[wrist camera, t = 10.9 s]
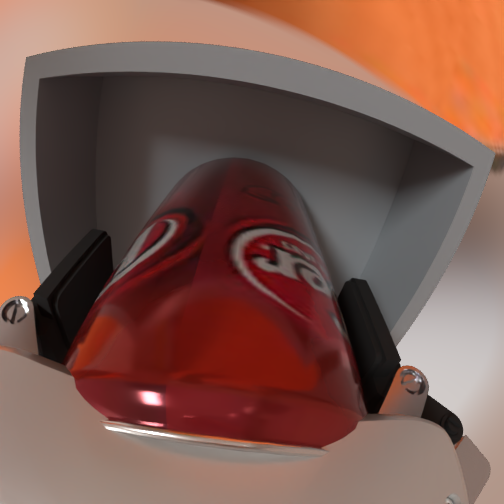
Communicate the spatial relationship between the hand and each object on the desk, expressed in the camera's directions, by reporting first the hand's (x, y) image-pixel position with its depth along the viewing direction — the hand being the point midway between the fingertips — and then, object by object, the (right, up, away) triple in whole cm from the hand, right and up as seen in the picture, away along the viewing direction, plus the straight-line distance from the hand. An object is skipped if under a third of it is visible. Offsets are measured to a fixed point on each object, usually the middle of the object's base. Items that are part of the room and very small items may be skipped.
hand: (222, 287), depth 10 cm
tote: (0, +3, +5) cm, 6 cm away
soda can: (0, +3, +4) cm, 5 cm away
